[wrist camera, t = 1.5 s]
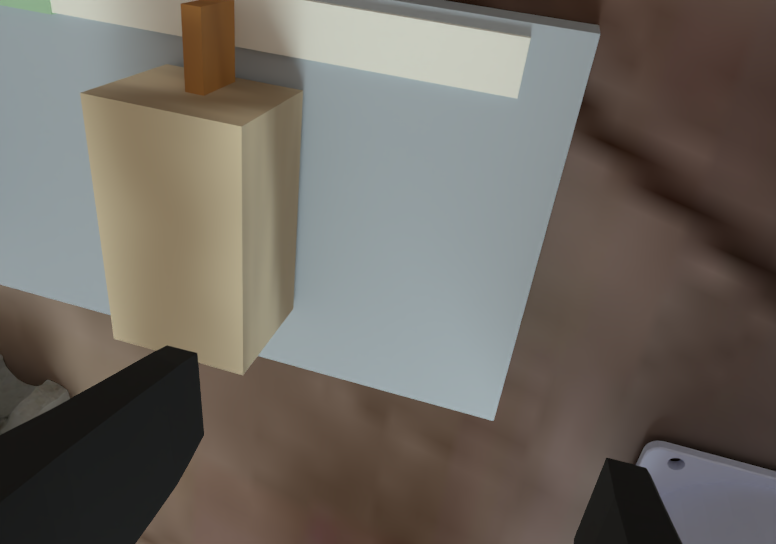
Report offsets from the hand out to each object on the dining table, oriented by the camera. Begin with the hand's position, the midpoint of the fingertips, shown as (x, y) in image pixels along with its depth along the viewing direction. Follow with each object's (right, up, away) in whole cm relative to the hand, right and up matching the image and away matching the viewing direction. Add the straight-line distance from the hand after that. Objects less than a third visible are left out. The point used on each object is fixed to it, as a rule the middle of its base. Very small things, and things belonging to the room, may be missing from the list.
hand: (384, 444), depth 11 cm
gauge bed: (-6, +7, +10) cm, 13 cm away
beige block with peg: (-4, +6, +7) cm, 10 cm away
